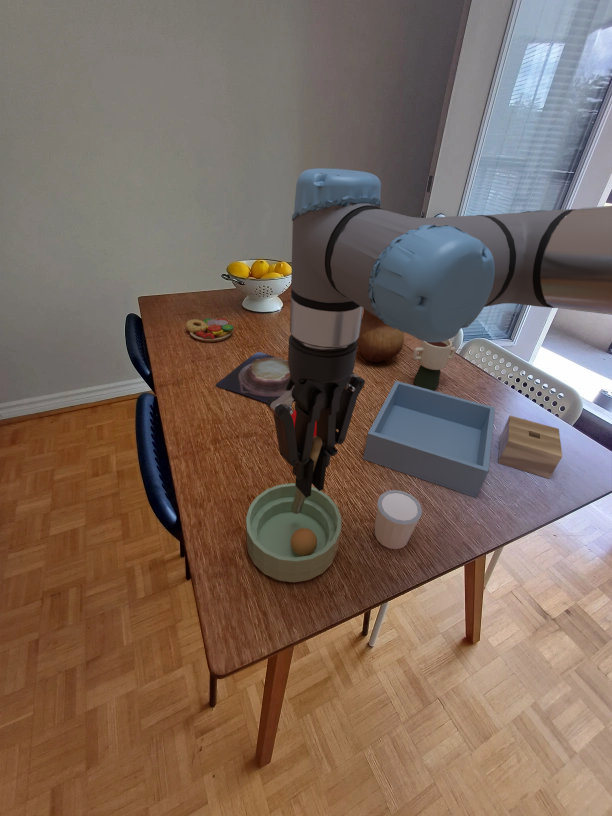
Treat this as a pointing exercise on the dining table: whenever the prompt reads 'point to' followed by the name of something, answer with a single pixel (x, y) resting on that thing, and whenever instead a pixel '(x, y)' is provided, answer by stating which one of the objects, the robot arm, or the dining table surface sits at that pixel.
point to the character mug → (432, 362)
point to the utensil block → (530, 447)
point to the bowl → (291, 533)
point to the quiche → (258, 377)
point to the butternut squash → (378, 339)
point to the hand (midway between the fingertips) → (309, 487)
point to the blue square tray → (433, 437)
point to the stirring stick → (314, 455)
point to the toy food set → (209, 329)
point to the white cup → (396, 518)
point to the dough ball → (303, 542)
